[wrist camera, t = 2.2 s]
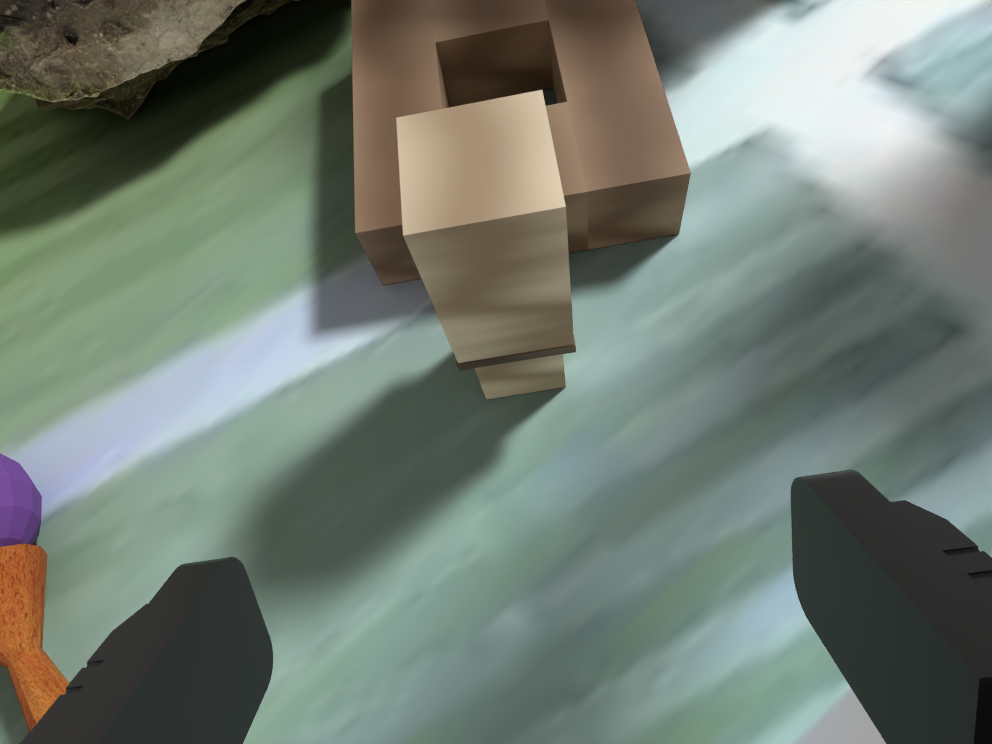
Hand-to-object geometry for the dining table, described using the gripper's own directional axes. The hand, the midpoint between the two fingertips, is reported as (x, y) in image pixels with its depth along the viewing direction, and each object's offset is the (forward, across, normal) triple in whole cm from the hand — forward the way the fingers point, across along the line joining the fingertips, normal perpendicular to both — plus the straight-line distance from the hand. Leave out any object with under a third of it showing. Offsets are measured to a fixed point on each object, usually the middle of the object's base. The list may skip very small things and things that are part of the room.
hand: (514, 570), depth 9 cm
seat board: (+28, -1, -6) cm, 29 cm away
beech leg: (+19, 0, +3) cm, 19 cm away
